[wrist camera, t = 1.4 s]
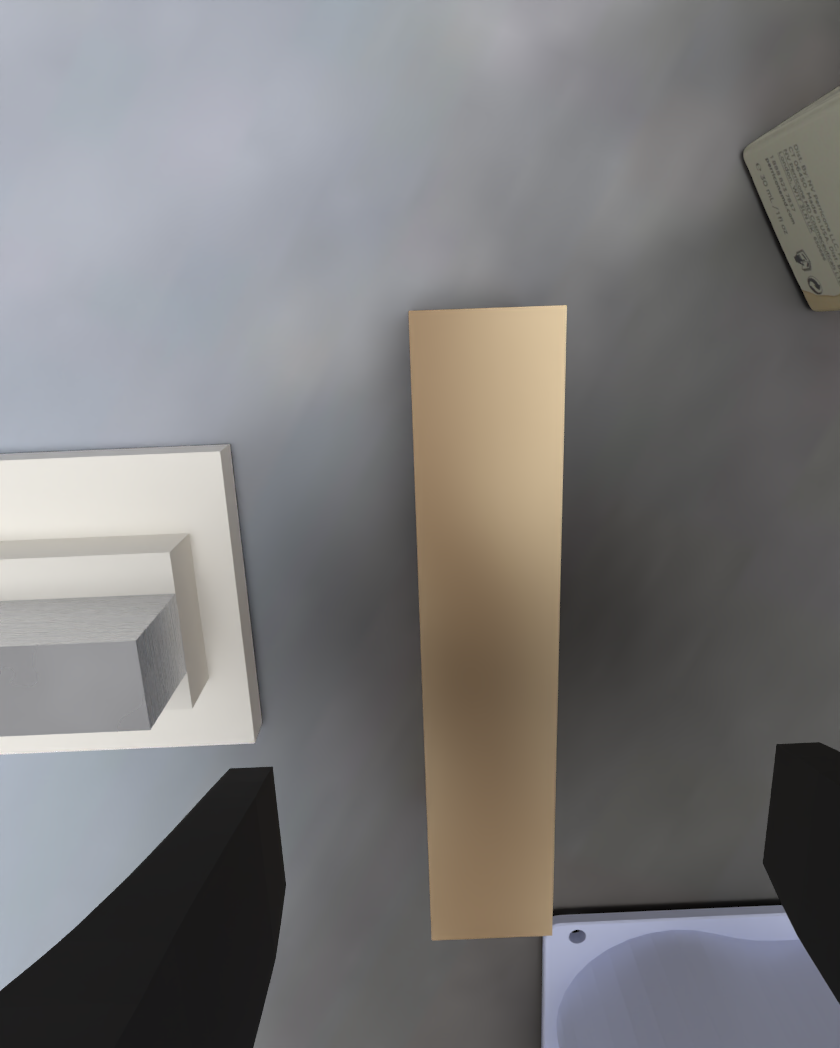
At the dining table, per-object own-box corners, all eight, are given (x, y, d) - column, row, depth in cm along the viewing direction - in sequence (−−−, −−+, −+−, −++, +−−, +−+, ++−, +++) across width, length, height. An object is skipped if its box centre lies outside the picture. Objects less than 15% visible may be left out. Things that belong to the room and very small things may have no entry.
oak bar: (523, 308, 17) (566, 305, 13) (519, 796, 21) (552, 935, 16) (408, 312, 17) (409, 311, 13) (426, 799, 21) (431, 940, 16)
